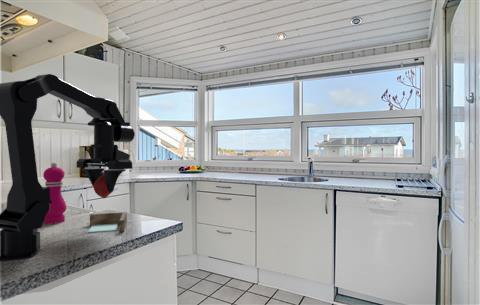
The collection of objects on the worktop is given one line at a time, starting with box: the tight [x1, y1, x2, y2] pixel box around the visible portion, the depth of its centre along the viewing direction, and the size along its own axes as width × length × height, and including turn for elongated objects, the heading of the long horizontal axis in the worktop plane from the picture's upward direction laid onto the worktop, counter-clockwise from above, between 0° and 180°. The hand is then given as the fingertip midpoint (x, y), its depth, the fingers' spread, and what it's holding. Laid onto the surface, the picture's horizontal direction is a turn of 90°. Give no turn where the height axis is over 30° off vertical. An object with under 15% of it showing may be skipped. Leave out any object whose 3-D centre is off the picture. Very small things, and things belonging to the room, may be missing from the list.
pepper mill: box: [42, 162, 67, 225], centre depth 96 cm, size 7×7×20 cm
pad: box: [87, 223, 119, 234], centre depth 88 cm, size 8×8×1 cm
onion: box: [93, 172, 113, 199], centre depth 88 cm, size 6×6×8 cm
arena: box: [89, 211, 128, 233], centre depth 88 cm, size 11×12×4 cm
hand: (103, 191), depth 88 cm, fingers closed on onion, 6 cm apart
